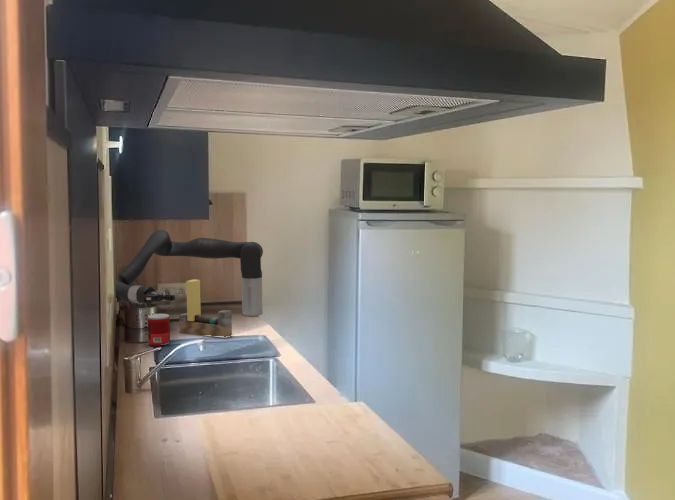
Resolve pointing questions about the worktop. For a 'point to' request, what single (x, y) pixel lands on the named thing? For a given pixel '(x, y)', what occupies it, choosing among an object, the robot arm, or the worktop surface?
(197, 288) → the yellow rectangular block
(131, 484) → the worktop surface
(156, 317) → the canned food
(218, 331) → the wooden rack
